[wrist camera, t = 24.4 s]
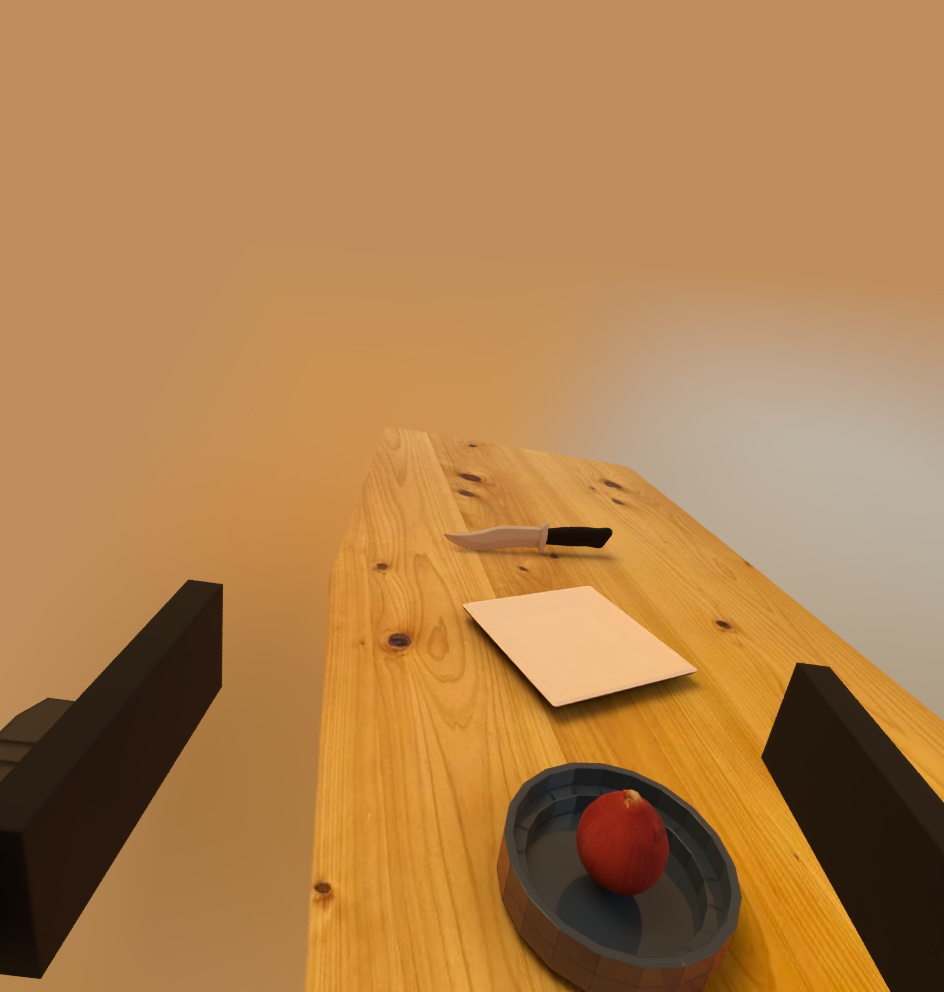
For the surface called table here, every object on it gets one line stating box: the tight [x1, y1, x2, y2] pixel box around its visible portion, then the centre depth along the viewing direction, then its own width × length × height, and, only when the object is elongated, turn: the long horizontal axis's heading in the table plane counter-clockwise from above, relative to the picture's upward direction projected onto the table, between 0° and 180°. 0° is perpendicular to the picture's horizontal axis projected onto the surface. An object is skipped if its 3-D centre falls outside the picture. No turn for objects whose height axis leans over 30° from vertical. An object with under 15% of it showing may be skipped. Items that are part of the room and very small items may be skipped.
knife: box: [444, 522, 612, 553], centre depth 93 cm, size 25×2×5 cm, turn 100°
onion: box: [576, 790, 669, 896], centre depth 42 cm, size 6×6×8 cm
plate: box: [462, 586, 697, 708], centre depth 71 cm, size 19×19×2 cm
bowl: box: [497, 763, 742, 992], centre depth 43 cm, size 15×15×4 cm
